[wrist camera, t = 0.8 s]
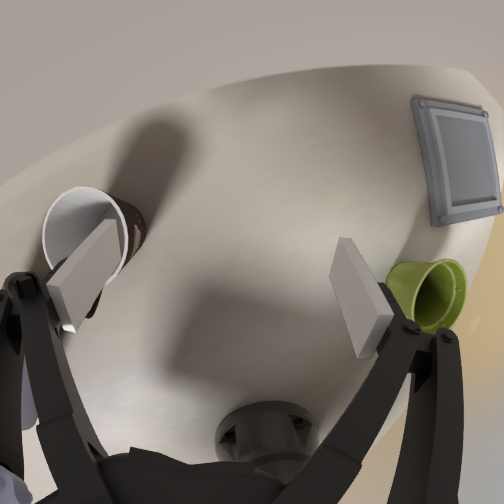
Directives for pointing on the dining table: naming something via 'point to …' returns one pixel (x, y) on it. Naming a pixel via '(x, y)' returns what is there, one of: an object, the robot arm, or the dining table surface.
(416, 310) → the plant pot
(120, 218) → the coffee mug
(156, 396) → the dining table surface
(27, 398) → the bluetooth speaker
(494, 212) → the base plate
